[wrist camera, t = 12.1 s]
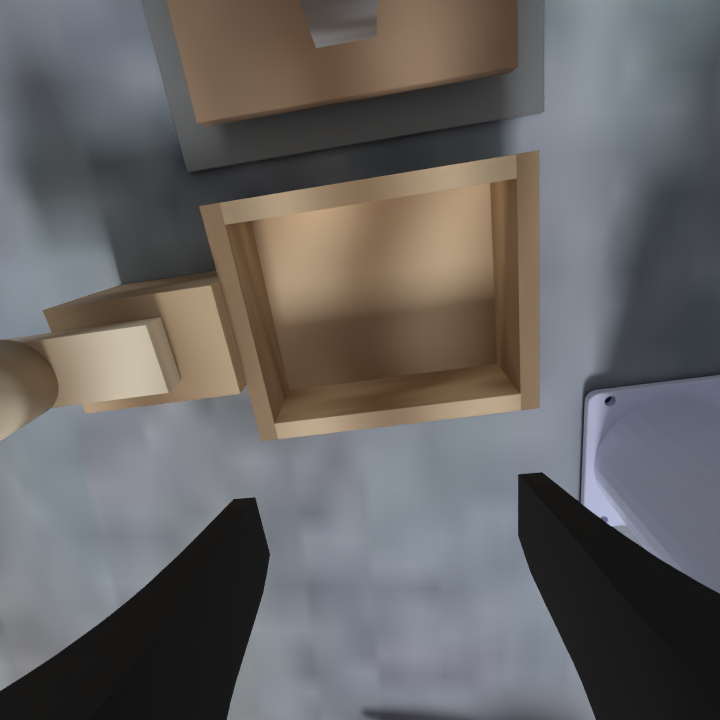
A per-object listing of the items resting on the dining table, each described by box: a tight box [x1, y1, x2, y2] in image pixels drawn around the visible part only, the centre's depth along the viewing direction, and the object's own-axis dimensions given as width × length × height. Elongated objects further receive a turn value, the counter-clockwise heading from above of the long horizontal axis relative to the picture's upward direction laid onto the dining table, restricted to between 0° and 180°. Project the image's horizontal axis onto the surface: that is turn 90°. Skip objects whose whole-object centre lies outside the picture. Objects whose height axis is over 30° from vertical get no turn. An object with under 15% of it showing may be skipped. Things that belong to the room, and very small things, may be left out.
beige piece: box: [0, 317, 181, 441], centre depth 13 cm, size 7×3×4 cm, turn 98°
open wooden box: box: [43, 151, 540, 441], centre depth 17 cm, size 17×9×5 cm, turn 98°
